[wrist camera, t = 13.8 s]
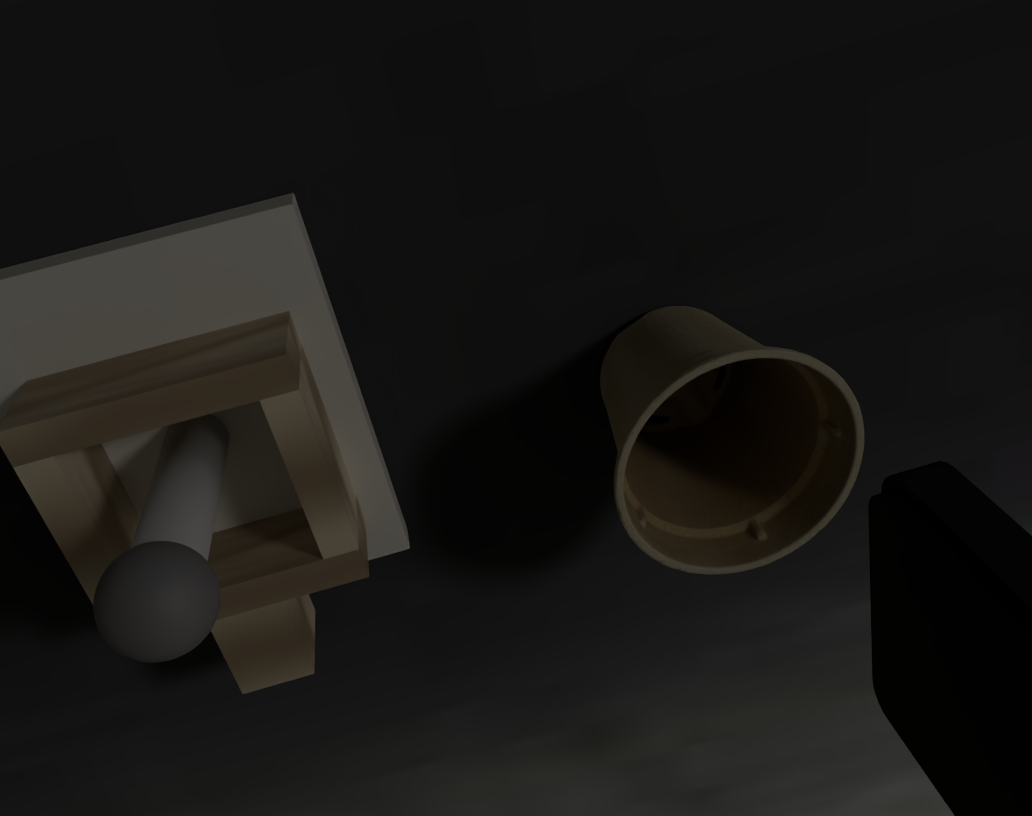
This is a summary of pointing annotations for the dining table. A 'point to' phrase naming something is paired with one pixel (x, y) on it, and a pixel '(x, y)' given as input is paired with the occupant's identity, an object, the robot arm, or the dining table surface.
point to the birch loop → (234, 551)
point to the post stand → (203, 440)
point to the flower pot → (724, 442)
